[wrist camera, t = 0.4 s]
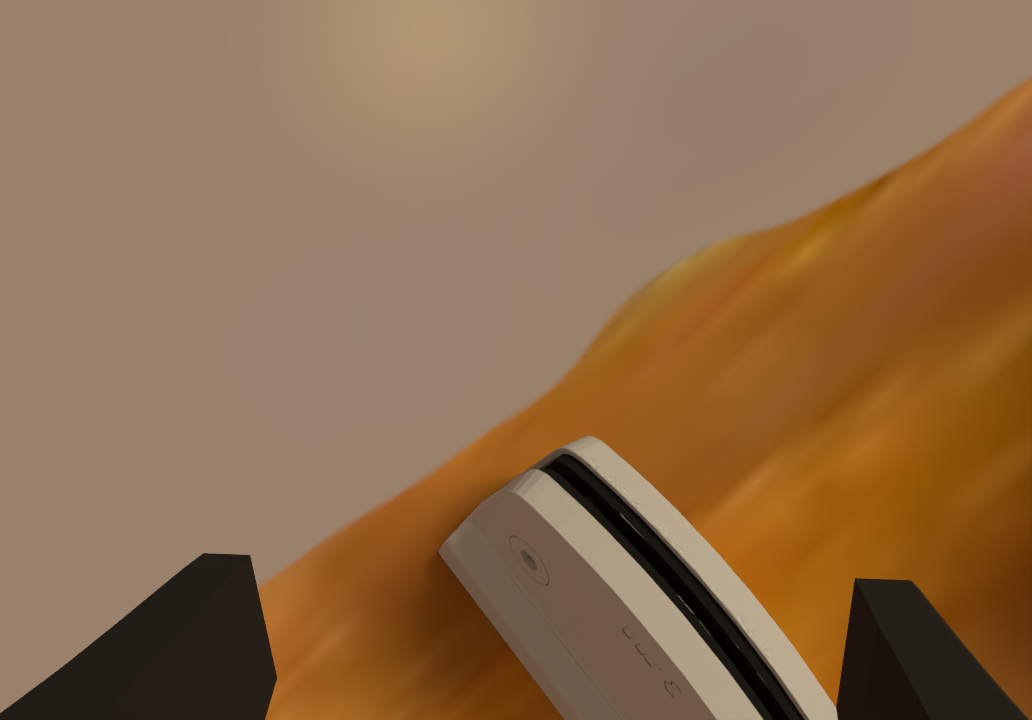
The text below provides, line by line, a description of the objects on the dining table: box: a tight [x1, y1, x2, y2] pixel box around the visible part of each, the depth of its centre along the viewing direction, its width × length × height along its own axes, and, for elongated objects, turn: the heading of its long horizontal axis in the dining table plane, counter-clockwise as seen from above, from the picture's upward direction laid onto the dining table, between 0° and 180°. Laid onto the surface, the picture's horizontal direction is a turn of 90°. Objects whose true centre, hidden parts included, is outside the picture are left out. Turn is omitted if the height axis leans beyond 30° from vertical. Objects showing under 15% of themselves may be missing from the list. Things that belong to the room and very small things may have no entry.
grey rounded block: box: [438, 436, 838, 720], centre depth 34 cm, size 17×5×10 cm, turn 38°
